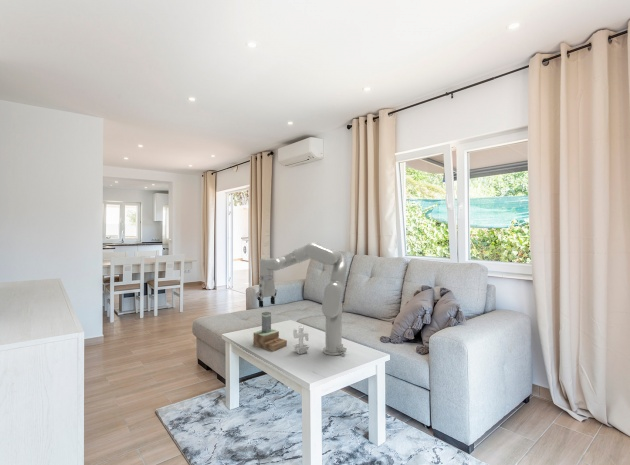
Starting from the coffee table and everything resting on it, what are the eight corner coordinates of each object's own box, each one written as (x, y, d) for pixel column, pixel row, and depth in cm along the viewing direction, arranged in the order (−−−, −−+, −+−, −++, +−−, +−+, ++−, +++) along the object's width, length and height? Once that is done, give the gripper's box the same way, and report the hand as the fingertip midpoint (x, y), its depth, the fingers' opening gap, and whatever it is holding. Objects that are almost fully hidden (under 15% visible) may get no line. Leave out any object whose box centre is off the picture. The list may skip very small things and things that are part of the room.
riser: (286, 346, 206) (286, 333, 206) (272, 351, 196) (272, 338, 196) (267, 340, 216) (267, 328, 216) (253, 345, 207) (253, 332, 207)
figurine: (311, 352, 195) (311, 327, 195) (296, 355, 190) (296, 329, 190) (305, 348, 201) (305, 324, 201) (291, 351, 196) (291, 326, 196)
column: (271, 331, 209) (271, 312, 209) (266, 333, 206) (266, 313, 205) (266, 330, 211) (266, 311, 211) (261, 332, 208) (261, 312, 208)
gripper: (259, 280, 199) (260, 309, 199) (280, 276, 212) (281, 303, 212) (251, 279, 204) (252, 307, 204) (272, 275, 217) (272, 302, 217)
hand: (267, 305), depth 208 cm, fingers open, 9 cm apart
